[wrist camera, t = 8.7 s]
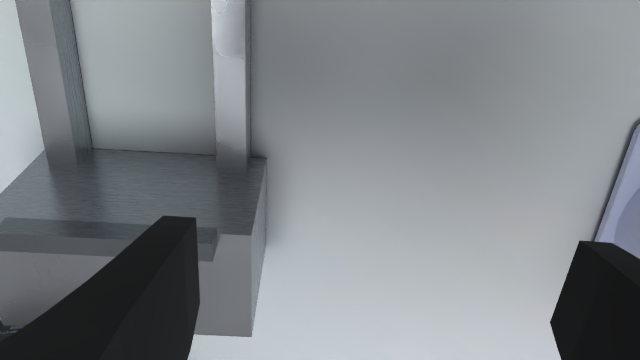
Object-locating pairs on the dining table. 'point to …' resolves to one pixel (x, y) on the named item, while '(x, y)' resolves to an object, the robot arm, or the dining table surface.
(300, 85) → the dining table surface
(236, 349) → the dining table surface
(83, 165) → the grey forked block
